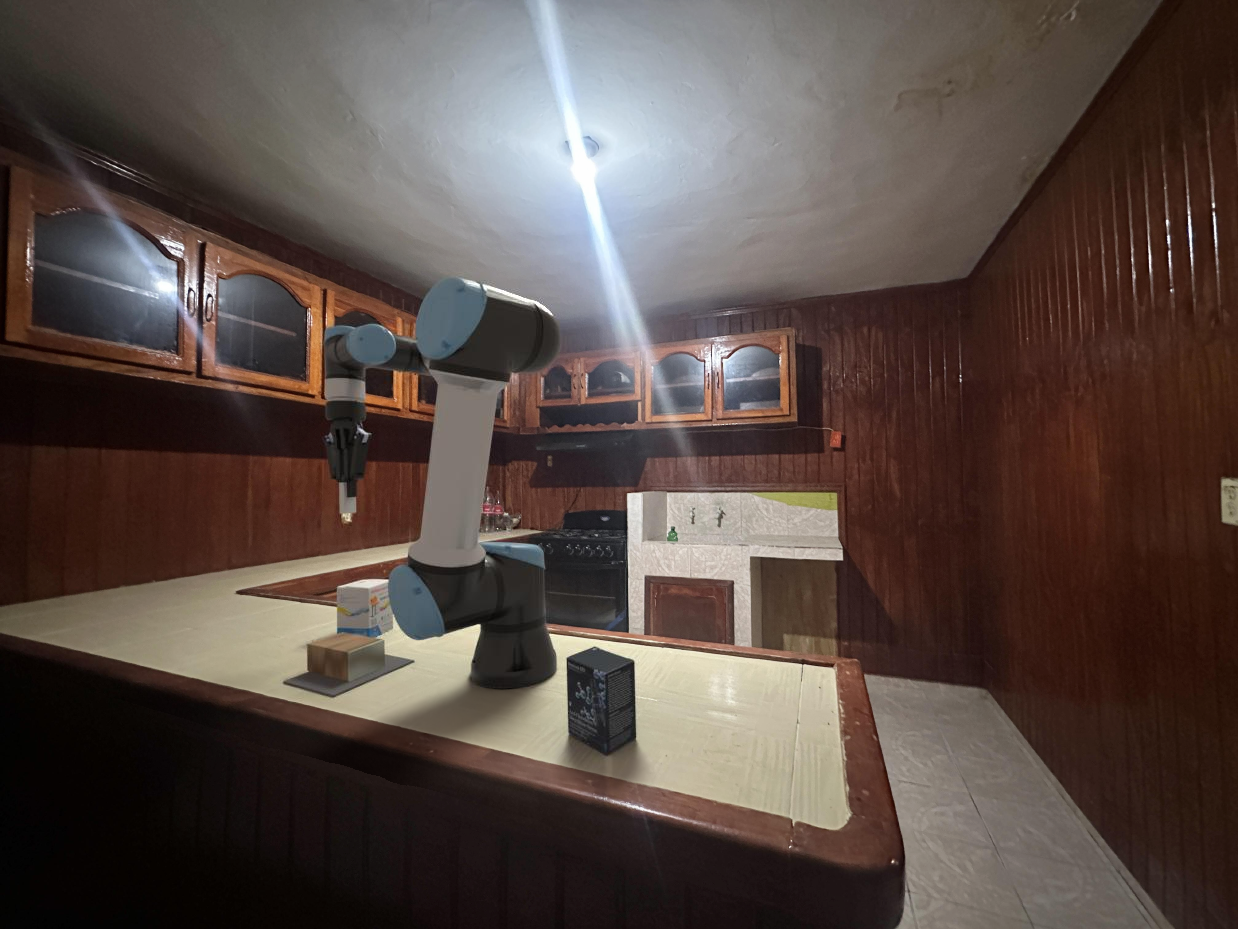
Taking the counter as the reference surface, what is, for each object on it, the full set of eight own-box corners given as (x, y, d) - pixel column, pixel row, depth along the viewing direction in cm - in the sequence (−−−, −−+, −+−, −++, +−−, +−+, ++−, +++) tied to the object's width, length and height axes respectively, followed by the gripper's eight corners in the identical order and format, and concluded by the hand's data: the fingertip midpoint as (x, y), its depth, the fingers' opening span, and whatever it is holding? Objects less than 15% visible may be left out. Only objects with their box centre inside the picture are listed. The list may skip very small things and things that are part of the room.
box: (567, 735, 66) (565, 656, 66) (597, 719, 70) (595, 645, 70) (607, 758, 60) (604, 672, 60) (638, 739, 64) (635, 658, 64)
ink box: (369, 640, 107) (368, 587, 107) (335, 639, 108) (335, 586, 109) (394, 628, 115) (393, 578, 115) (363, 627, 117) (362, 578, 117)
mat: (414, 661, 94) (414, 660, 94) (333, 697, 79) (333, 695, 79) (366, 651, 100) (366, 650, 100) (283, 682, 85) (283, 681, 85)
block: (343, 657, 96) (384, 666, 91) (307, 671, 90) (349, 681, 84) (342, 632, 96) (384, 639, 91) (306, 643, 90) (349, 652, 85)
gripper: (382, 401, 103) (384, 512, 103) (343, 406, 109) (345, 511, 109) (349, 396, 97) (351, 515, 96) (309, 402, 102) (311, 514, 102)
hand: (348, 513), depth 102 cm, fingers closed
